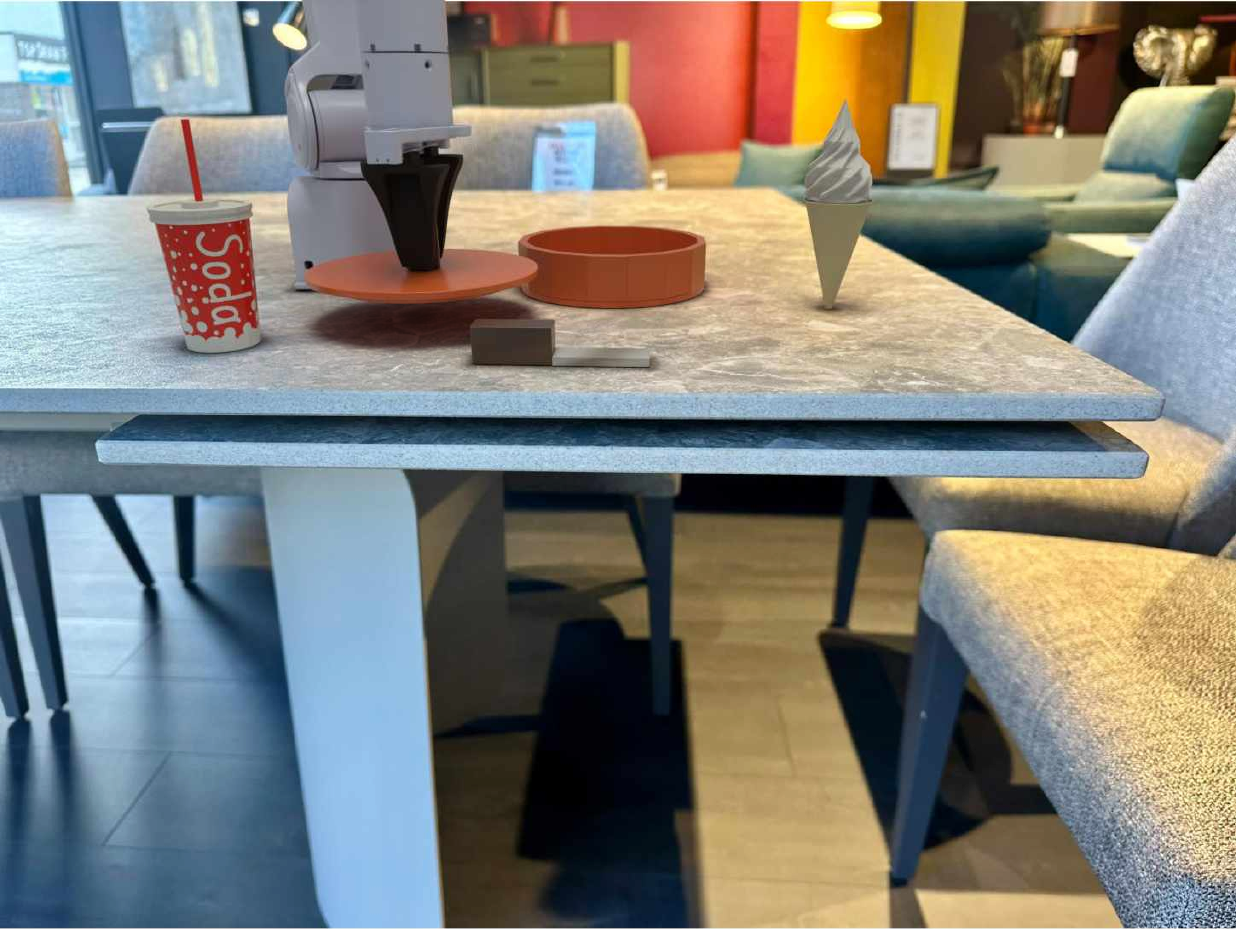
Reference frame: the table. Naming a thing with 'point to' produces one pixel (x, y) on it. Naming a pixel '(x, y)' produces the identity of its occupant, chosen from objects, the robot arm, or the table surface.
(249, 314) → the beverage cup
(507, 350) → the knife
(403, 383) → the table surface
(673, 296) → the pan
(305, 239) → the robot arm
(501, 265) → the pan lid
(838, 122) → the ice cream cone
